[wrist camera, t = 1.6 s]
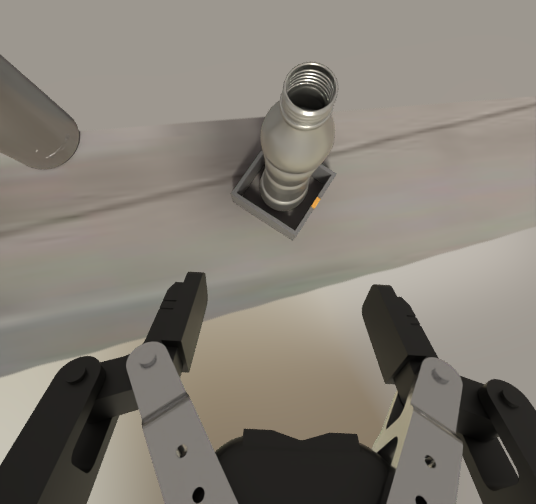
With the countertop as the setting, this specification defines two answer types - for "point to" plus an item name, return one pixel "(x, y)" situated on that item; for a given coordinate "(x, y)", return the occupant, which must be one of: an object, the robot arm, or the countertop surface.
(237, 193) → the socket collar
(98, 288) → the countertop surface
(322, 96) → the silver metal bottle
